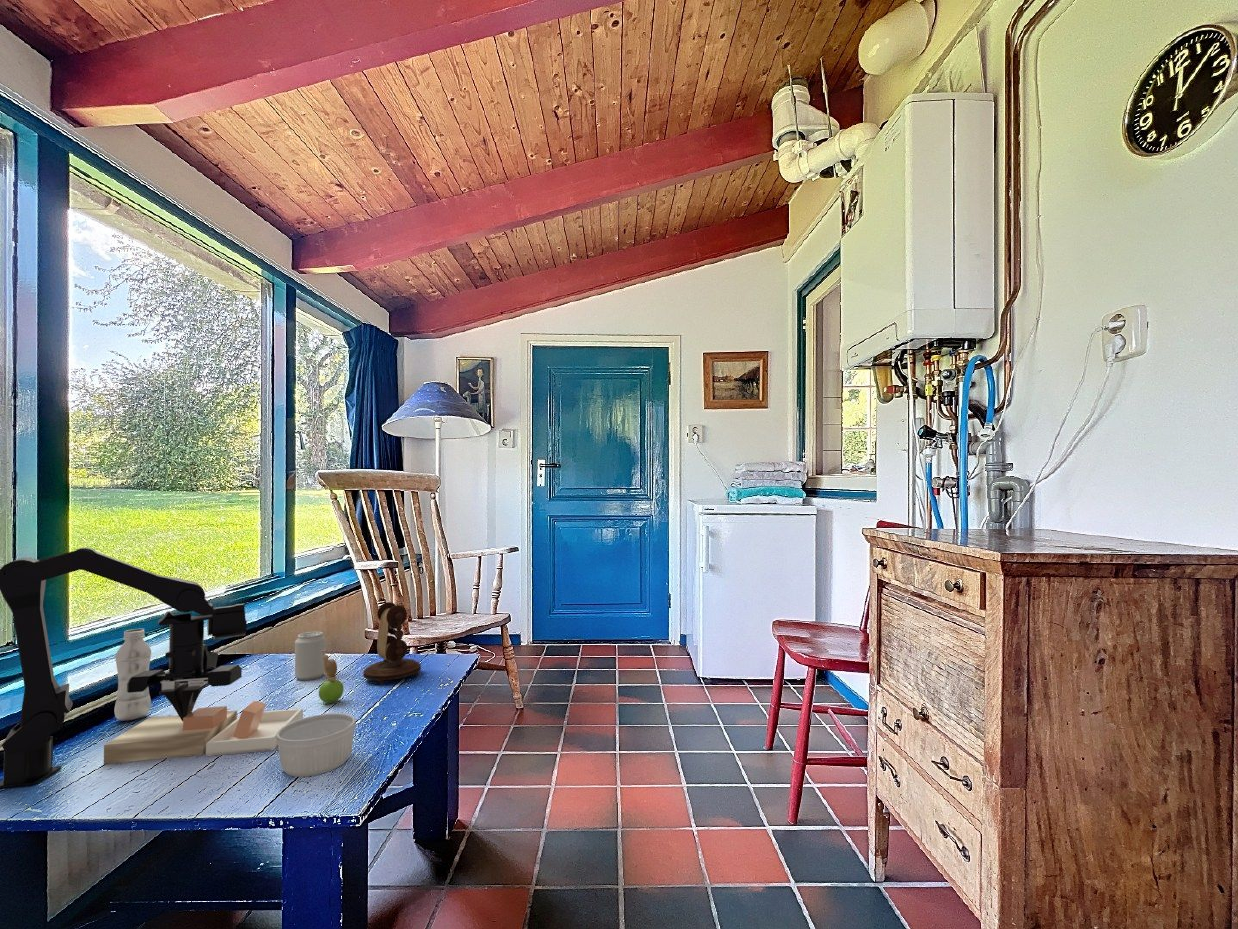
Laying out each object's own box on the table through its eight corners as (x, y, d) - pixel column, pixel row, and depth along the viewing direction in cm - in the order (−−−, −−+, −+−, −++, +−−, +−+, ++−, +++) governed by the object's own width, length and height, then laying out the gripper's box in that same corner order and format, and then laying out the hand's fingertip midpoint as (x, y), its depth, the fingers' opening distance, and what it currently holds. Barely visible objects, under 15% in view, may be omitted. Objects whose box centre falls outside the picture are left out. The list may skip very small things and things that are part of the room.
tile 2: (232, 737, 118) (245, 740, 119) (242, 710, 119) (255, 713, 119) (245, 726, 124) (257, 729, 124) (254, 701, 124) (266, 703, 125)
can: (296, 675, 164) (296, 632, 165) (325, 671, 167) (325, 629, 168) (293, 683, 157) (294, 637, 158) (324, 678, 160) (324, 634, 161)
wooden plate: (202, 754, 113) (203, 736, 114) (103, 763, 111) (104, 744, 111) (236, 726, 127) (237, 710, 127) (149, 734, 124) (149, 717, 125)
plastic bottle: (130, 725, 130) (132, 634, 131) (105, 723, 131) (107, 633, 132) (158, 714, 136) (160, 627, 137) (135, 713, 137) (136, 627, 138)
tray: (273, 750, 115) (273, 737, 115) (205, 756, 113) (206, 743, 113) (302, 719, 130) (302, 708, 131) (244, 724, 128) (244, 713, 129)
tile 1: (213, 728, 118) (213, 715, 118) (183, 730, 117) (183, 718, 117) (226, 718, 123) (226, 706, 123) (198, 720, 122) (198, 708, 122)
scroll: (355, 677, 161) (355, 604, 162) (408, 666, 171) (407, 597, 172) (374, 690, 150) (374, 611, 151) (429, 677, 160) (429, 603, 161)
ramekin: (258, 779, 103) (258, 739, 103) (307, 747, 116) (307, 711, 116) (327, 782, 101) (327, 741, 102) (369, 749, 114) (369, 713, 115)
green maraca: (335, 696, 146) (335, 647, 146) (347, 701, 142) (347, 651, 142) (312, 702, 142) (313, 652, 142) (324, 708, 138) (324, 656, 138)
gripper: (253, 631, 130) (252, 703, 129) (159, 637, 127) (158, 710, 126) (229, 644, 119) (228, 722, 118) (125, 650, 116) (124, 731, 115)
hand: (185, 720), depth 120 cm, fingers closed
